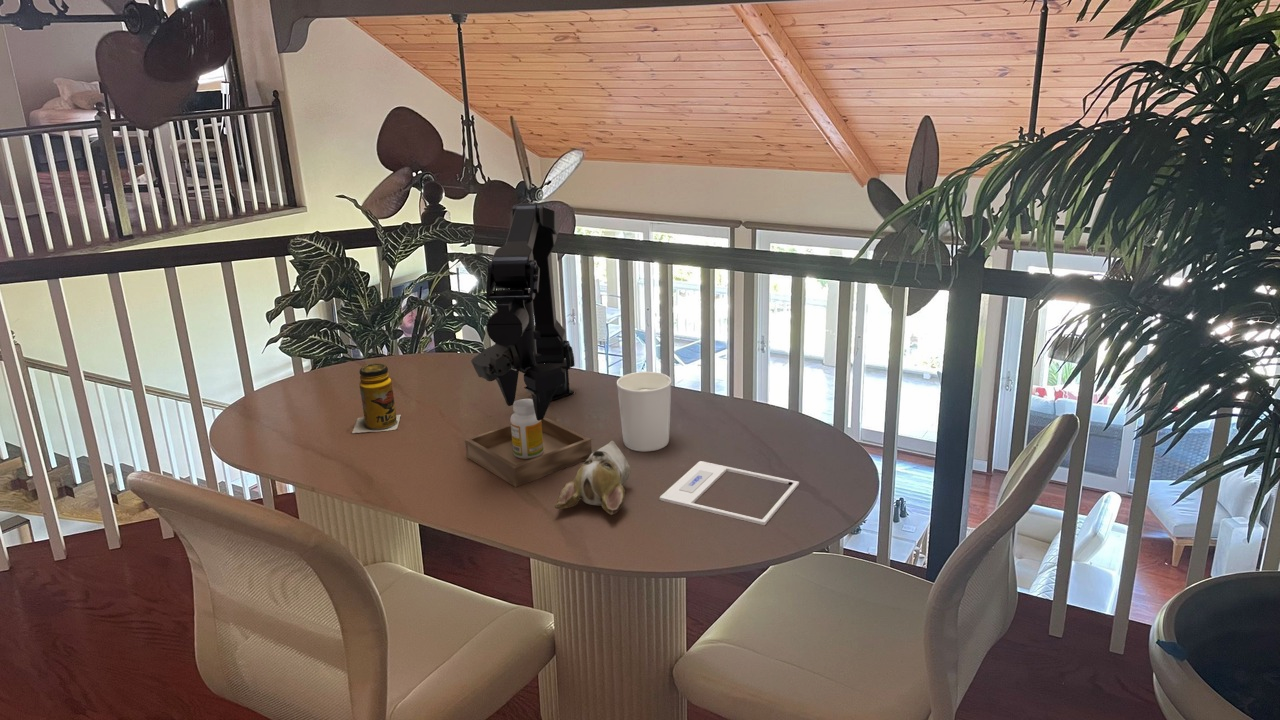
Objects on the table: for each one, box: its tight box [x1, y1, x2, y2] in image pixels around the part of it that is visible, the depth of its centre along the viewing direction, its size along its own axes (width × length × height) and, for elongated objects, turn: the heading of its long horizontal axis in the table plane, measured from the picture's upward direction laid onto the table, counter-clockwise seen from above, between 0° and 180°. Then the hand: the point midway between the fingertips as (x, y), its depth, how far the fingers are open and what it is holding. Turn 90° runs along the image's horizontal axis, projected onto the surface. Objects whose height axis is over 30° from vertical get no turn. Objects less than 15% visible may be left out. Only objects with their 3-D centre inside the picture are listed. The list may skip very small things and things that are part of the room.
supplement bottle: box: [510, 398, 543, 459], centre depth 157 cm, size 5×5×10 cm
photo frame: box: [659, 460, 800, 526], centre depth 144 cm, size 15×1×18 cm
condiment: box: [351, 363, 401, 434], centre depth 174 cm, size 7×8×12 cm
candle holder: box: [616, 371, 673, 452], centre depth 162 cm, size 10×10×12 cm
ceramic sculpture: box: [554, 440, 631, 516], centre depth 142 cm, size 11×9×15 cm
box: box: [464, 416, 593, 488], centre depth 159 cm, size 16×16×4 cm
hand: (525, 412), depth 156 cm, fingers open, 9 cm apart
